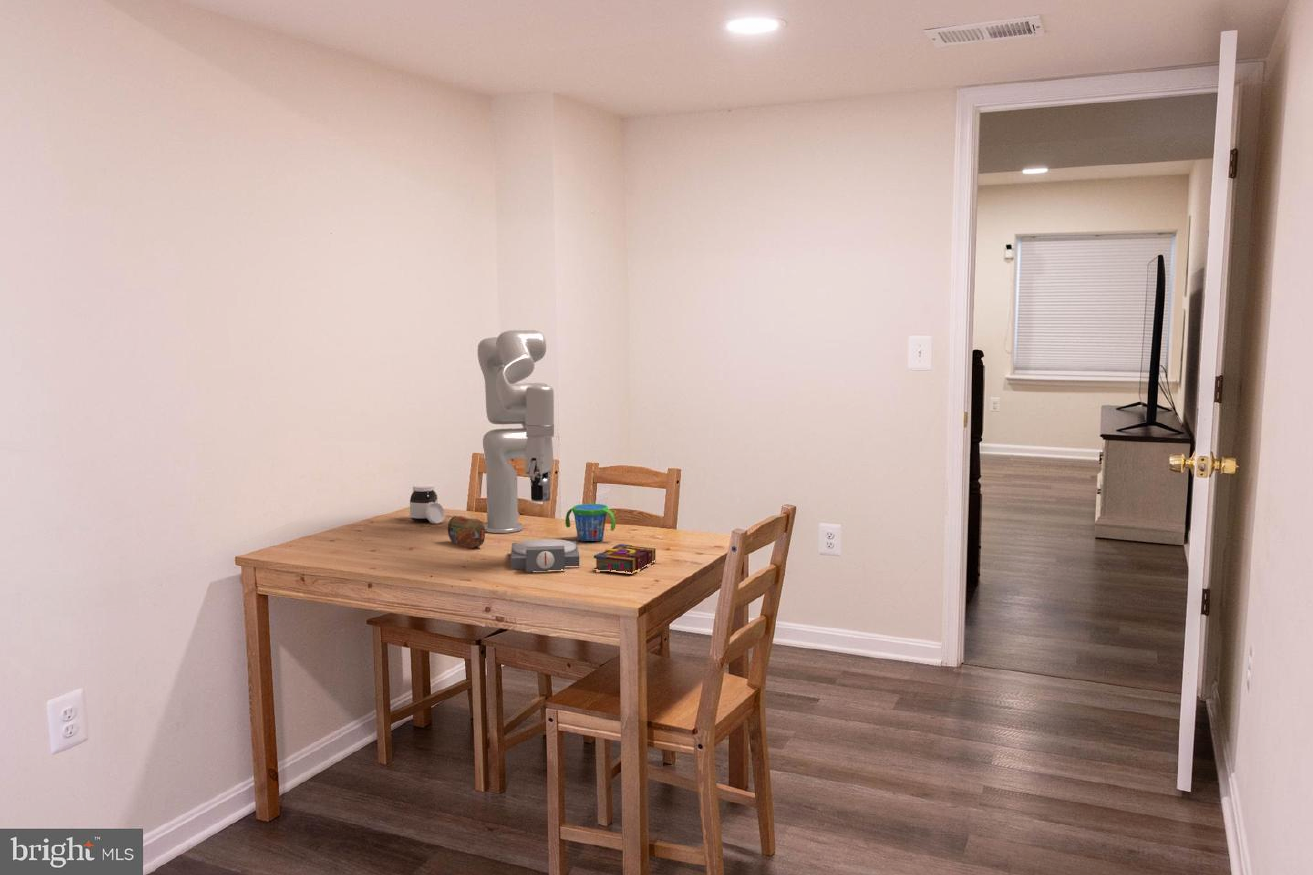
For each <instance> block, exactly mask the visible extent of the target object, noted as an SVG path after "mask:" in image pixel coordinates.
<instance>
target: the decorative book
mask: <svg viewBox="0 0 1313 875" xmlns="http://www.w3.org/2000/svg"><path fill="white" fill-rule="evenodd" d="M593 559H595V560H596V562H595V563H596V567H594V568H593V570H594V569H598V570H610V571H611V570H616V571H625V572H626V571H627V572H631V573H632V572H633V571H635V570H638V569H641V568H642V567H644V566H645V565H647V564H650V563H652V561H654V560H655V561H656V548H654V547H653V548H652V547H644V546H635V545H634V546H633V545H631V544H624V543H618V544H617V545H614V546H613V547H612V548H605V550H604V551H603V552H599V553H596V554H594V555H593Z"/></svg>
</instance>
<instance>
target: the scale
mask: <svg viewBox="0 0 1313 875" xmlns="http://www.w3.org/2000/svg"><path fill="white" fill-rule="evenodd" d="M577 543H578V542H577V541H575V540H574V541H573V540H572V541H570V540H564V539H555V538H541V539H537V538H536V539H528V540H524V541H520V542H512V543H511V550H510V570H526V572H533V571H548V570H561V569H563V570H564V569H565V570H566V568H565V566H579V567H580V552H579V548H578V544H577Z"/></svg>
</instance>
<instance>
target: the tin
mask: <svg viewBox="0 0 1313 875" xmlns="http://www.w3.org/2000/svg"><path fill="white" fill-rule="evenodd" d="M484 525H485V524H484V523H483V521H481V520H480V519H478V518H473V517H467V516H465V515H464V516H463V515H458V516H457V515H456V516H455V515H454V516H452V517H451V518H450V520H449V522H448V525H447V534H448V537H449V540H450V541H451V543H453V544H454V545H456V544H457V546H461V547H465V548H469V549H473V548H479V547H481V546H482V545H483V544H484V543H485V538H486V531H485V528H484Z"/></svg>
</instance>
